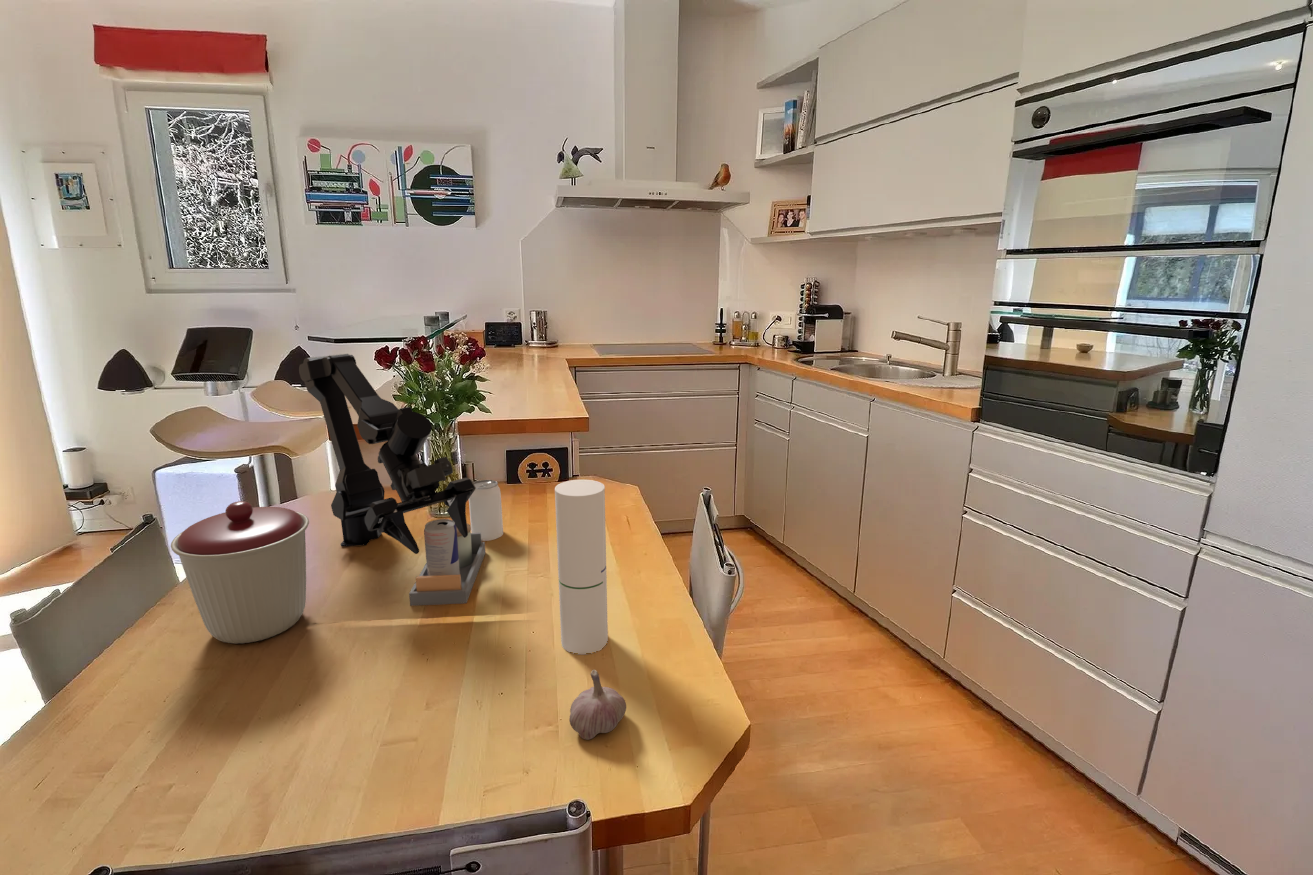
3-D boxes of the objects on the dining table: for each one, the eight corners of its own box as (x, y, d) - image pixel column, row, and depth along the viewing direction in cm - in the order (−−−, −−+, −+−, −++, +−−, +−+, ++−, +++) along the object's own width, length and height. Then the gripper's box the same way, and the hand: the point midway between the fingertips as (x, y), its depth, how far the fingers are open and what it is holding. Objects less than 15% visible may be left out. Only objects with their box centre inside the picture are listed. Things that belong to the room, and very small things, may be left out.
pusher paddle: (417, 601, 111) (415, 578, 110) (419, 598, 112) (416, 576, 111) (461, 599, 112) (459, 576, 111) (462, 596, 113) (460, 574, 111)
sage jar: (438, 569, 123) (435, 534, 121) (445, 556, 128) (442, 522, 127) (470, 568, 123) (467, 533, 122) (475, 554, 129) (473, 521, 127)
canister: (162, 644, 100) (134, 515, 95) (267, 590, 117) (248, 477, 111) (249, 669, 94) (224, 532, 89) (347, 608, 111) (331, 490, 105)
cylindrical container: (615, 633, 103) (612, 482, 97) (596, 658, 97) (592, 498, 90) (573, 625, 106) (568, 477, 99) (552, 649, 99) (545, 492, 93)
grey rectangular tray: (410, 609, 110) (407, 582, 109) (438, 557, 130) (435, 534, 128) (466, 607, 111) (464, 580, 110) (485, 555, 130) (484, 532, 129)
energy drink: (465, 581, 118) (461, 519, 115) (453, 596, 113) (448, 531, 110) (436, 579, 119) (431, 517, 116) (423, 594, 114) (417, 529, 111)
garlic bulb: (577, 752, 79) (575, 694, 76) (561, 714, 85) (558, 660, 83) (636, 734, 82) (636, 678, 79) (616, 699, 88) (615, 647, 86)
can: (507, 532, 142) (504, 479, 139) (497, 544, 136) (493, 489, 132) (478, 531, 142) (474, 478, 139) (467, 543, 136) (462, 488, 133)
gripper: (364, 456, 106) (404, 539, 102) (466, 434, 119) (505, 507, 115) (348, 491, 113) (385, 570, 109) (446, 467, 126) (483, 536, 122)
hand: (442, 544), depth 113 cm, fingers open, 9 cm apart
